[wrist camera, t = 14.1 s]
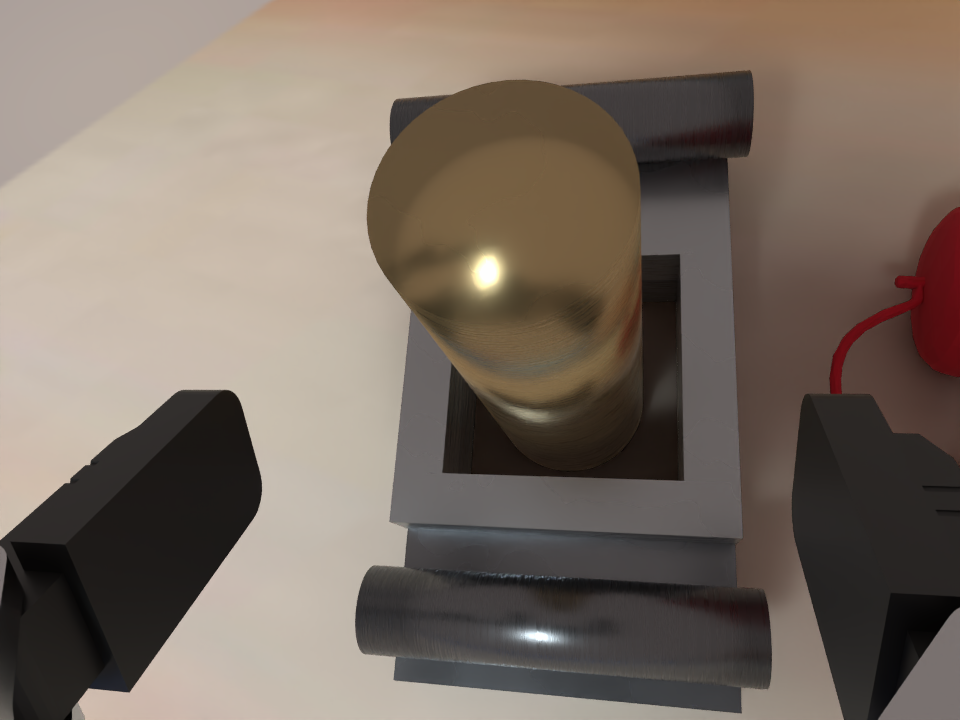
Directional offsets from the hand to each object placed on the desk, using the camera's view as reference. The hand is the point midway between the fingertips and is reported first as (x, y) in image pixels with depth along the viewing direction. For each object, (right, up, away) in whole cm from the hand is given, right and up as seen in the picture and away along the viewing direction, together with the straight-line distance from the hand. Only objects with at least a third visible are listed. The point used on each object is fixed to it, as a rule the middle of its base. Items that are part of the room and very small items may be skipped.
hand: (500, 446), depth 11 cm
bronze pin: (+2, 0, +10) cm, 11 cm away
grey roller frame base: (+2, 0, +10) cm, 11 cm away
